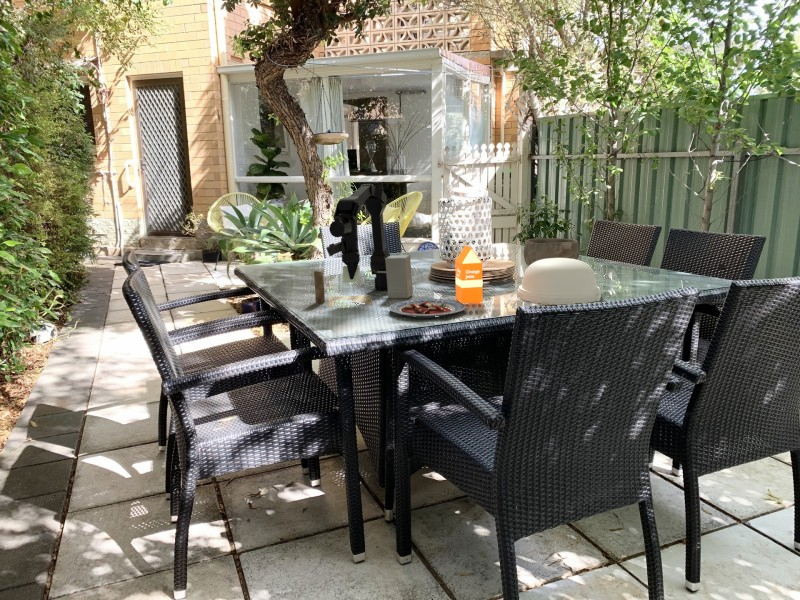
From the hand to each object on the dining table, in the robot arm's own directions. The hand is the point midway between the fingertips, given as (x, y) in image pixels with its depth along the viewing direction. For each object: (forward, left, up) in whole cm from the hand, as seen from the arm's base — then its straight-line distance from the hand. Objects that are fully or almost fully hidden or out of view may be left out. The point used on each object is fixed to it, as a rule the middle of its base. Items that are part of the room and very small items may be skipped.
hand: (351, 277), depth 224 cm
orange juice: (-42, +4, -10) cm, 43 cm away
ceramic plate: (-25, +18, -10) cm, 33 cm away
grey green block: (0, 0, -1) cm, 1 cm away
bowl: (-90, -49, -10) cm, 103 cm away
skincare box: (-18, -10, -10) cm, 23 cm away
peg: (+12, -5, -10) cm, 16 cm away
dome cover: (-76, +2, -10) cm, 77 cm away
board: (+1, -6, -10) cm, 12 cm away
